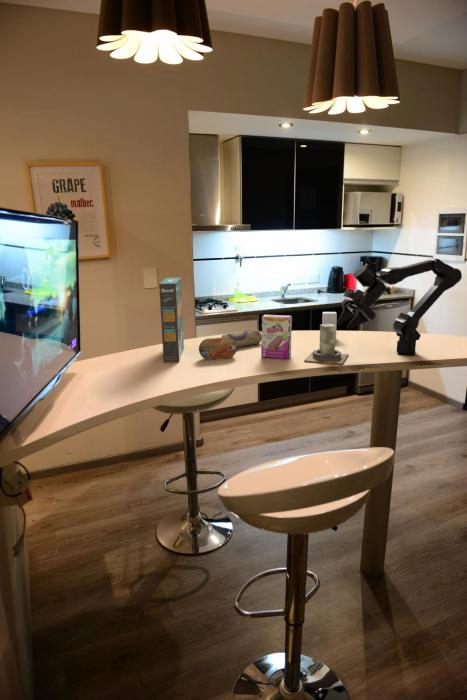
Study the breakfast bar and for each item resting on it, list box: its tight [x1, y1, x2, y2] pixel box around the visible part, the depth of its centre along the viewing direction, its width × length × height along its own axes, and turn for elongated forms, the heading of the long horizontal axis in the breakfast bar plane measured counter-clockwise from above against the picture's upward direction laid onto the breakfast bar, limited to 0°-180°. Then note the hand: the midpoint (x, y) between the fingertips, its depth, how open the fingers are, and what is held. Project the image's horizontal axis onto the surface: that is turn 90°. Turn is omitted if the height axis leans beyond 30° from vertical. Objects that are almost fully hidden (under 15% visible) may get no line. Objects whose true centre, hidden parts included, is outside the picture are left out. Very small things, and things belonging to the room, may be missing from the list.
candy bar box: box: [260, 314, 293, 360], centre depth 179 cm, size 11×5×16 cm, turn 74°
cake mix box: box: [158, 277, 185, 363], centre depth 183 cm, size 22×6×30 cm, turn 1°
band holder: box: [303, 348, 349, 366], centre depth 177 cm, size 14×14×3 cm
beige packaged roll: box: [221, 328, 262, 349], centre depth 196 cm, size 26×8×7 cm, turn 126°
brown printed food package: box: [198, 336, 238, 361], centre depth 179 cm, size 15×3×8 cm, turn 105°
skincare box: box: [322, 311, 338, 340], centre depth 208 cm, size 6×4×12 cm
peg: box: [318, 324, 337, 355], centre depth 175 cm, size 4×4×12 cm
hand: (342, 325), depth 175 cm, fingers open, 9 cm apart
